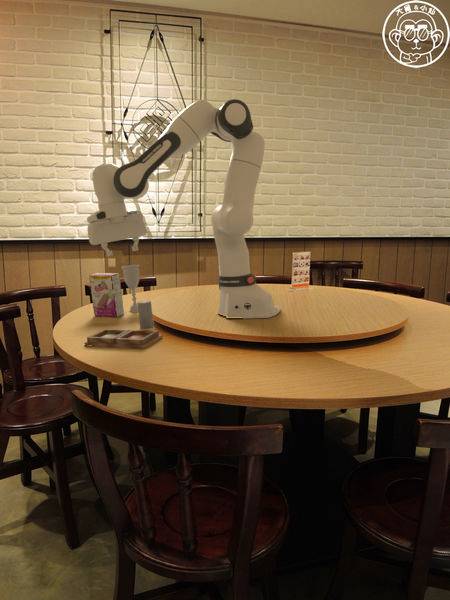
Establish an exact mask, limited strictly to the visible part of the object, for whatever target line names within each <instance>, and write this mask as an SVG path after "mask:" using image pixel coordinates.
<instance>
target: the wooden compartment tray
mask: <svg viewBox="0 0 450 600" xmlns="http://www.w3.org/2000/svg"><path fill="white" fill-rule="evenodd" d="M162 338H163V334H160V333H159V330H155V331H154V330H140V329H125V328H124V329H121V328H119V329H118V328H104V329H102V330H100V331H97V332H96V333H93V334H91V335H89V336H87V337H86V340H87V341H85V342H84V344H85V345H92V346H91V347H95V346H102V347H101V348H117V349H118V348H119V349H136V350H137V349H138V350H145V349H147V348H149V347H150V346H151V345H153V344H155V343H156V342H158V341H159V340H162ZM85 345H84V346H85Z"/></svg>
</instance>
